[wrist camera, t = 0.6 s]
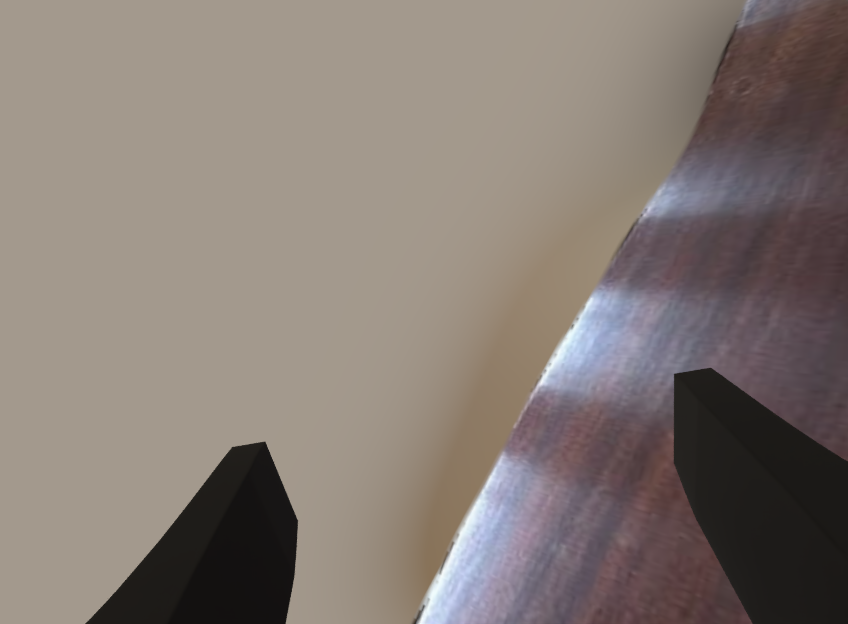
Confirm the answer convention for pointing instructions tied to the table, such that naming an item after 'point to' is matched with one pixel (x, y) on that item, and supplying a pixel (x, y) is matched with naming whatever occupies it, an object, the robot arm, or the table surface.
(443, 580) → the table surface
